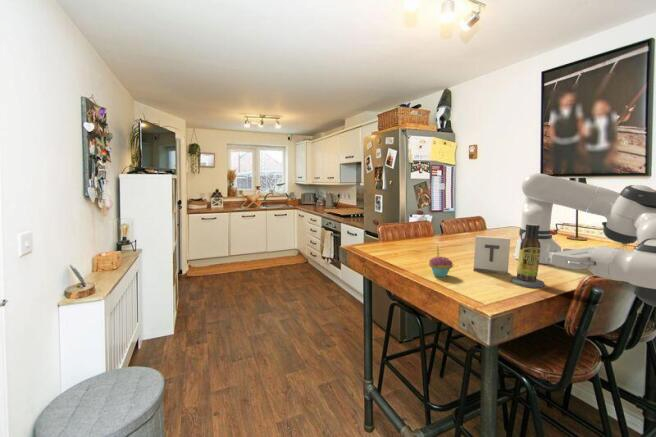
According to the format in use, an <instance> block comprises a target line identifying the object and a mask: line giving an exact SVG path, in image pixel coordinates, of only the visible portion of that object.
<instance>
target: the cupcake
mask: <svg viewBox="0 0 656 437" xmlns="http://www.w3.org/2000/svg"><path fill="white" fill-rule="evenodd" d="M436 253H437V254H436V255H437V256H435V257H432V258H431V259H428V260H429V261H428V266H429V267H431V270H432V274H433V276H435V277H437V276H438V278H445V277H447V276H448V273H449V271H450V269H452V268H453V267H454V266H453V261H451V260H450V259H449V258H448V257H446V256H440V250H439V246H438V244H437V245H436Z"/></svg>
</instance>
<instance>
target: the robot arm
mask: <svg viewBox="0 0 656 437" xmlns="http://www.w3.org/2000/svg"><path fill="white" fill-rule="evenodd" d="M521 191H522V193H523V194H524V195H525V197H524V204H523V209H522V211H521V224H520V228H519V232H518V234H519V238H517V240H516V241H517V242H516V245H515V251H514V252H513V254H512V256H513V257H514V259H516V260H518V259H519V250H520V244H521V241H522V240H523V239H524V238H525V234H526V224H538V225H540V227H539V230H538V240H539V242H540V245H541V247H540V257H539V264H545V265H552V266H556V267H560V268H561V267H562V268H567V269H571V270H583V269H587V270H589V271H590V272H591V274H592V275H593V276H595V277H600V278H603V279H608V280H613V281H620V282H621V281H622V282H626V283H629V284H631V285H633V286H634V287H633V293H634V295H635V296H636V297H637V298H638V299H639V300H641V301H642V302H643V303H645V304H647V305H649V306H652V307H656V189H654V188H652V187H650V186H647V185H642V184H637V185H636V184H630V185H627V186H625V187H624V188H623V189H622V190H621V191H620V192H617V191H615V190H612V189H610V188H605V187H602V186H597V185H593V184H588V183H585V182H581V181H576V180H572V179H565V178H561V177H557V176H552V175H549V174H547V173H533V174H530V175H528V176H526V178H524V179H523V182H522V184H521ZM554 205H556V206H561V207H566V208H569V209H573V210H577V211H580V212H584V213H588V214H592V215H596V216H602V217H604V218H605V219H606V221H602V222H601V225H602V226H603V227H602V228H603V233H604V235H605V237H606V238H607V239H609V240H611V241H613V242H615V243H618V244H624V245H625V244H626V245H630V244H634V243H636V242H637V243H638V244H637V245H635V247H634V248H633V250H631V251H629V250H626V249H624V248H621V247H613V246H612V247H610V246H605V245H598V246H597V247H585V248H563V249H562V247H561V246H560V245H559V244H558V243H557V242H556V241H555V240H554V239H553V236H556V234H557V232H556V230H551V223H552V212H553V208H554V207H553V206H554Z"/></svg>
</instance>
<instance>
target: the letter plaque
mask: <svg viewBox="0 0 656 437" xmlns="http://www.w3.org/2000/svg"><path fill="white" fill-rule="evenodd" d="M510 247H511V238H510V237H500V236H485V235H475V241H474V256H473V272H480V273H489V274H490V273H491V274H497V275H498V274H499V275H508V274H509V273H508V272H509V265H510V264H509V261H510V251H511V250H510V249H511V248H510Z"/></svg>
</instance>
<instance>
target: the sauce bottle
mask: <svg viewBox="0 0 656 437" xmlns="http://www.w3.org/2000/svg"><path fill="white" fill-rule="evenodd" d="M539 227H540V225H538V224H526V234H525V238H524V239H523V240H522V241H521V244H520V250H519V259H517V268H516V276H517V278H519V279H521V280H525V281H536V279H537V276H538V274H539V273H538V272H539V264H540V263H539V257H540V247H541V245H540V242H539V240H538V230H539Z"/></svg>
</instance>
